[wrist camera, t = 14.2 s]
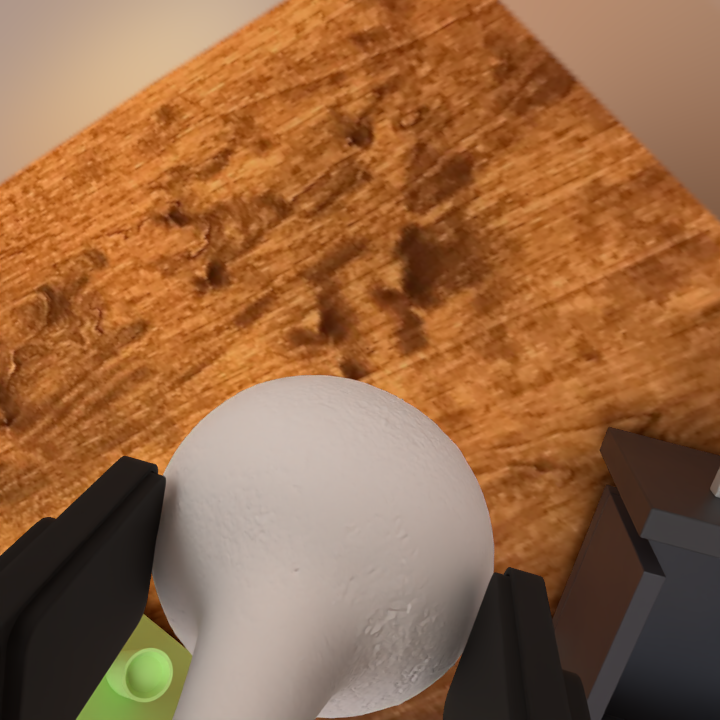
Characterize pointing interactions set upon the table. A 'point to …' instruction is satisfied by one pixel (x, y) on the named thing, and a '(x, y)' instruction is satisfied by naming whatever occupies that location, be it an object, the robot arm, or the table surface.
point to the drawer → (648, 586)
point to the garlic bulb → (318, 552)
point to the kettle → (141, 678)
